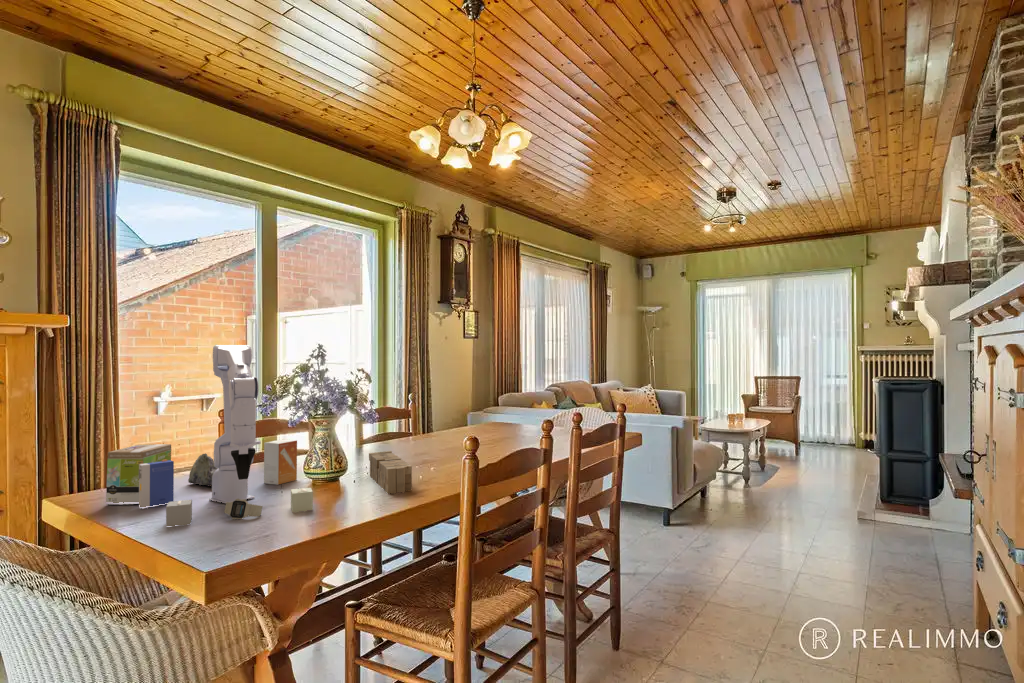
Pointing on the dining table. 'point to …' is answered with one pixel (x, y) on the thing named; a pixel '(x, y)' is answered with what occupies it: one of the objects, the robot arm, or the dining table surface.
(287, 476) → the small box
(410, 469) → the block tower
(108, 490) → the tea box
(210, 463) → the mineral rock
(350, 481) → the dining table surface
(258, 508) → the wristwatch
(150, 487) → the blue carton
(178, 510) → the block marked 1
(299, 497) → the block marked 7
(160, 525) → the dining table surface
